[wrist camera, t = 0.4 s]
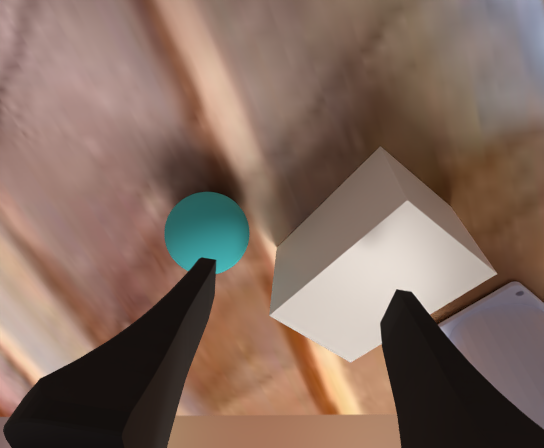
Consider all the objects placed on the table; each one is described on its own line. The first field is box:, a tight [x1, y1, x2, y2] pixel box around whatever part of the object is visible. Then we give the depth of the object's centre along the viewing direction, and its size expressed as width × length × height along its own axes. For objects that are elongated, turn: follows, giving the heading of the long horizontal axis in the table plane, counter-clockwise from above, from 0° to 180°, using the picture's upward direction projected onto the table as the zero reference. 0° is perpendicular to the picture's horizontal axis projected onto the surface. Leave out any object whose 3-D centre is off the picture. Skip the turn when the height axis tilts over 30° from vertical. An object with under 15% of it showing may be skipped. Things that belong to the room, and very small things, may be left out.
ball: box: [165, 192, 249, 274], centre depth 20 cm, size 5×5×5 cm
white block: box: [269, 146, 497, 362], centre depth 20 cm, size 6×10×6 cm, turn 143°
